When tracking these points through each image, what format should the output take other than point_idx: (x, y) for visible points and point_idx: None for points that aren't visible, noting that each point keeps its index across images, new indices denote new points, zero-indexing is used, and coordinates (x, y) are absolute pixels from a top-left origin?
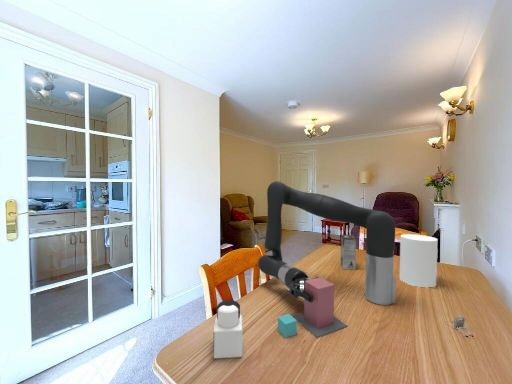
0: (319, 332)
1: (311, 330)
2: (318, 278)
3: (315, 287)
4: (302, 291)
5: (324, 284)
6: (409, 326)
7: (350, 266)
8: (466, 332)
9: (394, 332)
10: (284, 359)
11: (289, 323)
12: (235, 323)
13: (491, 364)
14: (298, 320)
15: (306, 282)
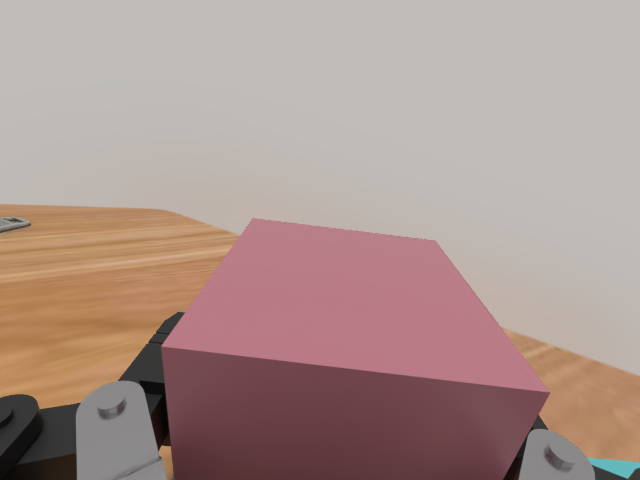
0: None
1: None
2: (235, 334)
3: (446, 256)
4: (548, 440)
5: (322, 246)
6: (33, 286)
7: None
8: (8, 222)
9: (118, 298)
10: (593, 405)
11: (611, 461)
12: None
13: (132, 214)
14: None
15: (517, 357)
